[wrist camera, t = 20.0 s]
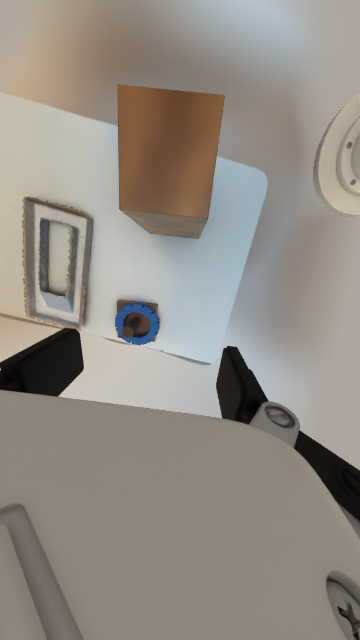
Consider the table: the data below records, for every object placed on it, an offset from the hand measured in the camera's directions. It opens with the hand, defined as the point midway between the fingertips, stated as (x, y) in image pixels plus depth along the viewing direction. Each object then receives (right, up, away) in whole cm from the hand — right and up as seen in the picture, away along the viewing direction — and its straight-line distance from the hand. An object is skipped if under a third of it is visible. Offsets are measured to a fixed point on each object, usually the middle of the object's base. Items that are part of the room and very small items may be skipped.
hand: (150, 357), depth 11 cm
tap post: (-8, +2, +29) cm, 30 cm away
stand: (+1, +24, +21) cm, 32 cm away
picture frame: (-24, +14, +26) cm, 38 cm away
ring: (-8, +2, +28) cm, 29 cm away
